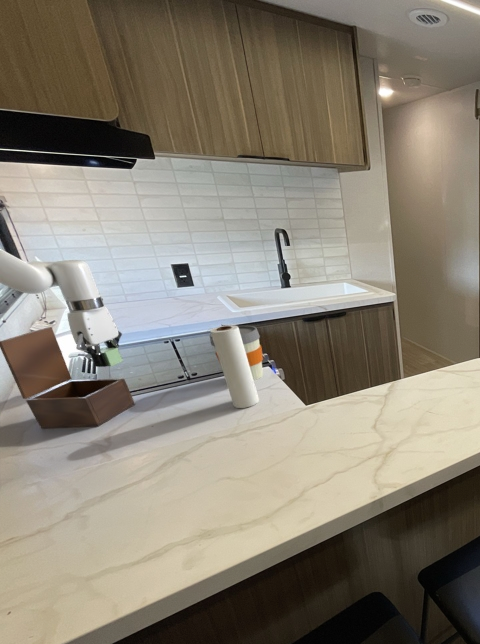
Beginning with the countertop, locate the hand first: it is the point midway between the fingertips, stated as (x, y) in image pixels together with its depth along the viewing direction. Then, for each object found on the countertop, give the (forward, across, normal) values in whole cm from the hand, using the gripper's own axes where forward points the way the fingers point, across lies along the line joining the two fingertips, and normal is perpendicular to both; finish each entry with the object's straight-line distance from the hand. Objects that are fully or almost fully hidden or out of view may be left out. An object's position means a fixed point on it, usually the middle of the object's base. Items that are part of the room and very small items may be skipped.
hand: (109, 362), depth 123 cm
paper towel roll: (+5, +20, +51) cm, 55 cm away
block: (0, 0, 0) cm, 0 cm away
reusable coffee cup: (+5, +2, +41) cm, 42 cm away
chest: (+6, +24, +13) cm, 28 cm away
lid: (-10, +25, +7) cm, 27 cm away
